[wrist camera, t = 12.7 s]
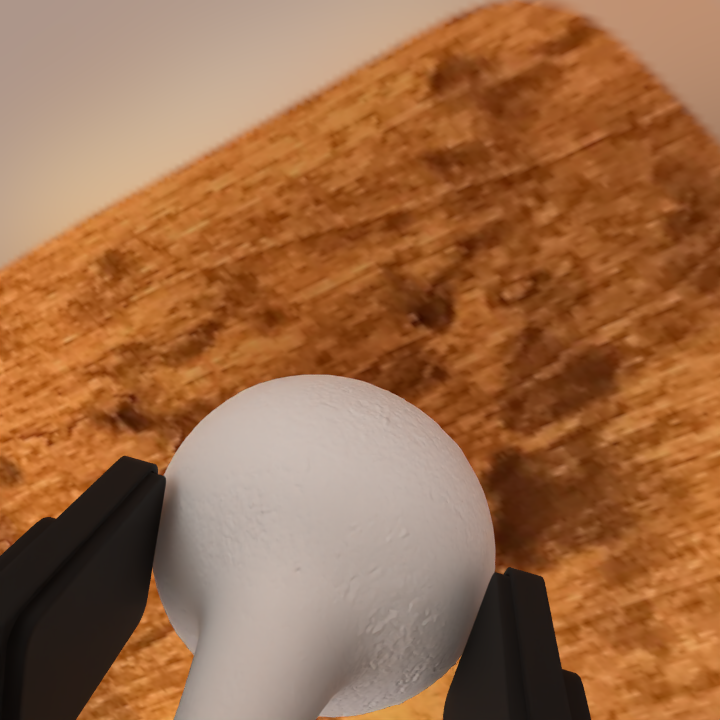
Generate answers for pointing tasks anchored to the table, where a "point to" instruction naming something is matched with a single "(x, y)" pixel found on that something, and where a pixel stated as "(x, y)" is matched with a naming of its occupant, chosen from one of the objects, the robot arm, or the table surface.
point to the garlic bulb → (319, 552)
